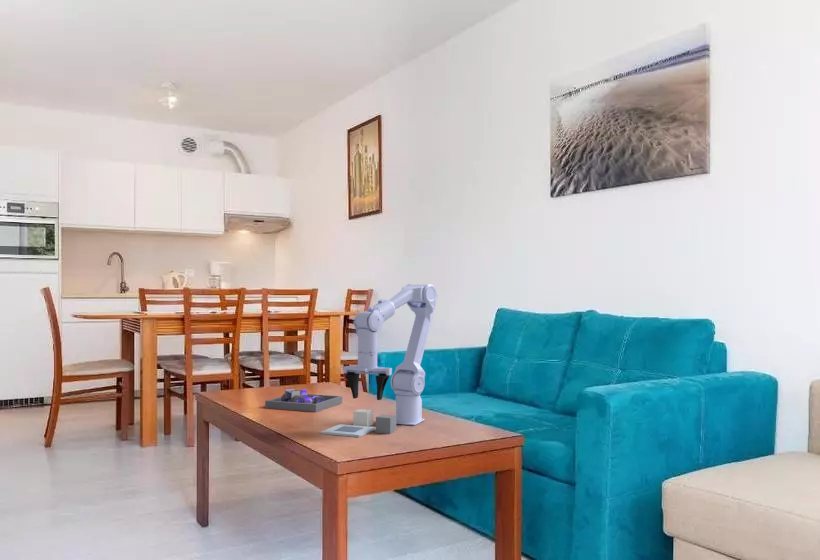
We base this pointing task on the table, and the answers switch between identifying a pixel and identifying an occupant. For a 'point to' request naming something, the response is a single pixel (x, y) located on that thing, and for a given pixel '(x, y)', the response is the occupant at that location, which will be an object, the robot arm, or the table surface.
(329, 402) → the car parking frame
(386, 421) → the charcoal block
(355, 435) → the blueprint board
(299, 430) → the table surface
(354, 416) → the cream block
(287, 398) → the toy race car
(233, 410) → the table surface
